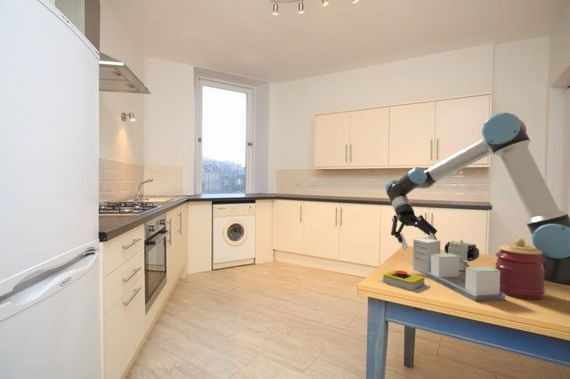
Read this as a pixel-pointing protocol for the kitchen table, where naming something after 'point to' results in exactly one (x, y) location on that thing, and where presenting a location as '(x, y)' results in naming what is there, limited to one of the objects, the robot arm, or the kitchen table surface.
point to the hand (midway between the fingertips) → (421, 248)
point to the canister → (521, 270)
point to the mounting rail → (459, 286)
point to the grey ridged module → (424, 253)
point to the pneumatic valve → (462, 252)
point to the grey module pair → (467, 274)
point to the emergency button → (405, 280)
